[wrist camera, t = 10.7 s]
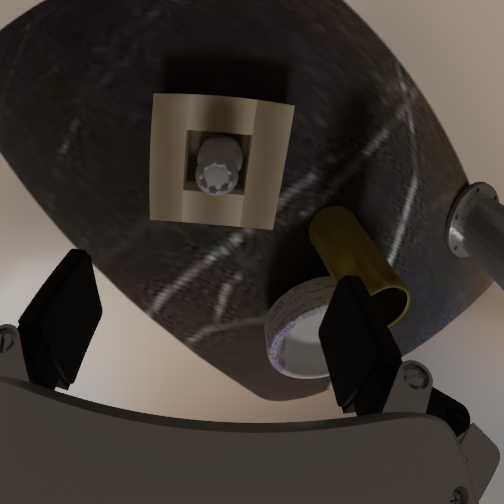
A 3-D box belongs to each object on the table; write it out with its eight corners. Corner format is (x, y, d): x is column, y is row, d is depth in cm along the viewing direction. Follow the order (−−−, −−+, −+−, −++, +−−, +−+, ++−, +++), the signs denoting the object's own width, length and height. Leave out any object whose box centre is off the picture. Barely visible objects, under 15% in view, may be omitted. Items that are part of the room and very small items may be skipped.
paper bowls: (352, 334, 43) (367, 371, 36) (261, 343, 42) (266, 386, 35) (375, 256, 35) (401, 294, 28) (262, 263, 34) (269, 307, 27)
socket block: (286, 104, 25) (294, 105, 21) (268, 213, 31) (272, 229, 27) (164, 93, 23) (153, 93, 20) (159, 204, 29) (150, 219, 26)
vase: (314, 201, 30) (366, 278, 18) (362, 208, 31) (427, 281, 19) (302, 248, 33) (338, 338, 21) (347, 252, 34) (396, 335, 22)
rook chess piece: (234, 127, 25) (234, 139, 18) (249, 169, 27) (255, 196, 20) (191, 144, 25) (175, 163, 18) (207, 183, 28) (199, 216, 21)
